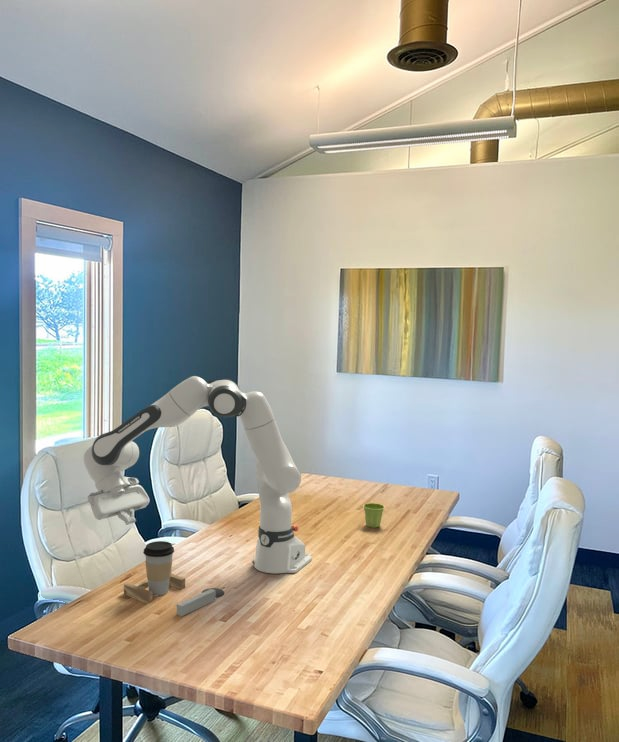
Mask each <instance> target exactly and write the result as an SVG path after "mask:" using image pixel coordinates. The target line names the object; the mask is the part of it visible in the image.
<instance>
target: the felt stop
mask: <svg viewBox="0 0 619 742" xmlns="http://www.w3.org/2000/svg"><path fill="white" fill-rule="evenodd" d="M209 589H210V588H209ZM214 601H216V590H213V589H210V590H207V591H205V592H203V593H202V592H201V593H198V594H197V595H195V596H193V597H190V598H188V599H185V600H184V601H180V602H179V603H177V604H176V615H177V614H178V616H180V617H183V616H186V615H187V613H188V614H190V613H191V612H194V611H196V610H198V609H200V608H201V607H204V606H206V605H208V604H210V603H212V602H214Z"/></svg>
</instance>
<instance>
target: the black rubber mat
mask: <svg viewBox="0 0 619 742" xmlns="http://www.w3.org/2000/svg"><path fill="white" fill-rule="evenodd" d="M210 589H213V590H216V598H220V597H222V596H224V594H225V591H224V590H223V589H221V588H218V587H217V588H216V587H215V588H214V587H213V588H212V587H211V588H206V589H204V590H202V592H201V593H203V592H205V591H207V590H210Z"/></svg>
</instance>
